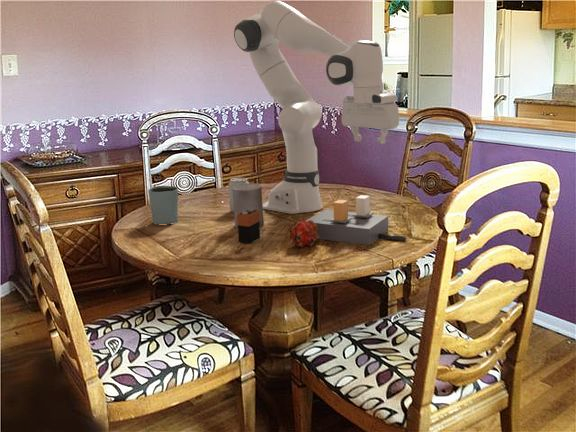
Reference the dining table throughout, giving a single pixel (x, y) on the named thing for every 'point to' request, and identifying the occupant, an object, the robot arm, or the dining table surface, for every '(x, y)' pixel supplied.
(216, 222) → the dining table surface
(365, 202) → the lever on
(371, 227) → the breaker strip
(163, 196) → the grey bin
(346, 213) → the orange block
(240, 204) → the pillar candle
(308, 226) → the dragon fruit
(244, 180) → the can
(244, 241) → the battery
